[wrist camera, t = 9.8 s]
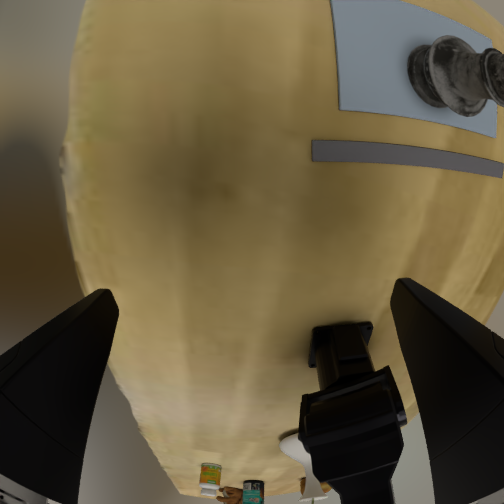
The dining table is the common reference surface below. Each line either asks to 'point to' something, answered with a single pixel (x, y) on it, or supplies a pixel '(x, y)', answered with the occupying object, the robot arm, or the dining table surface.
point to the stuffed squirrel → (231, 496)
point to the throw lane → (397, 82)
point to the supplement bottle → (210, 479)
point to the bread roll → (323, 485)
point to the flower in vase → (297, 452)
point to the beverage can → (253, 492)
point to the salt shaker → (456, 75)
